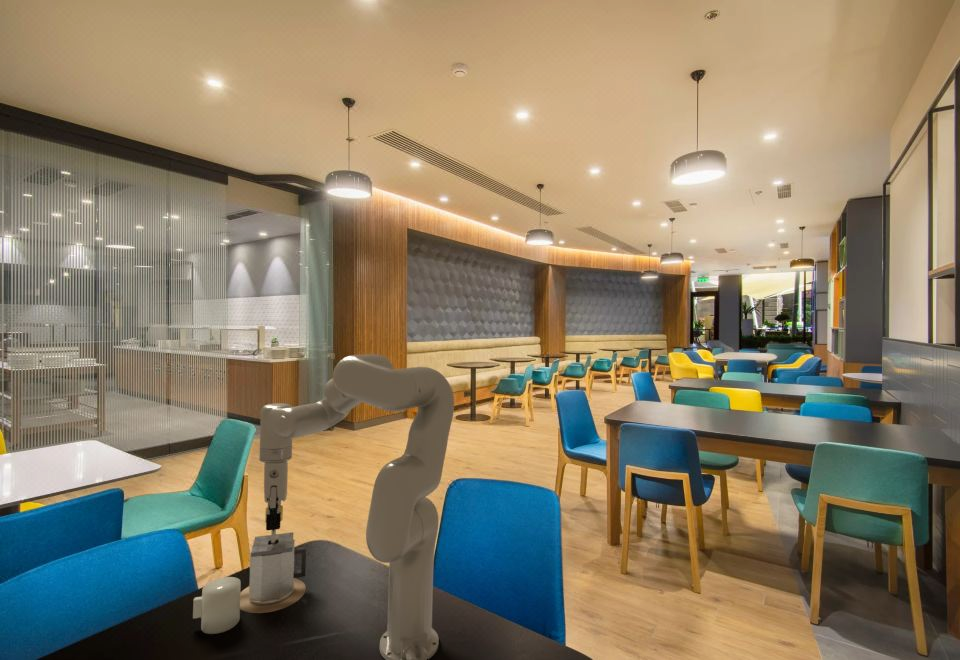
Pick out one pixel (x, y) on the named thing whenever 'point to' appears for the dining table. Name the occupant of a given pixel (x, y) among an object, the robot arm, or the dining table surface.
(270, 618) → the dining table surface
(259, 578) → the grey handled container
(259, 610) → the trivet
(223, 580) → the mug
